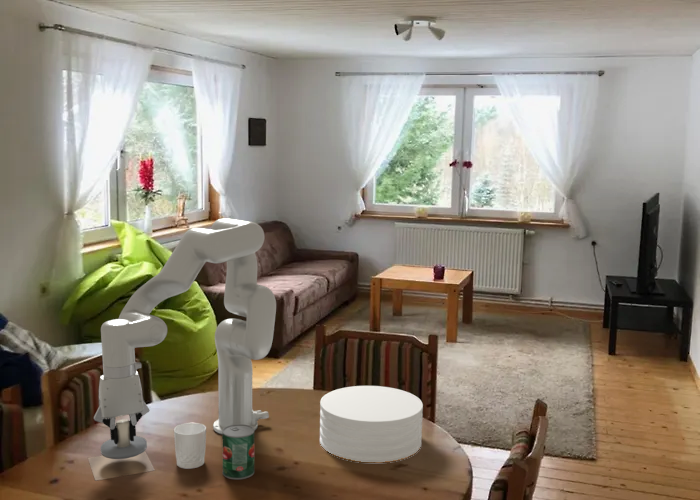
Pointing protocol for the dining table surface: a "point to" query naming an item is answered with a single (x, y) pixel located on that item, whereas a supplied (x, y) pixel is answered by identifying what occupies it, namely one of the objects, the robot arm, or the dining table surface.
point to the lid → (123, 443)
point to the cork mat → (119, 466)
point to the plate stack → (371, 423)
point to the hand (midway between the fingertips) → (123, 440)
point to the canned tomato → (238, 451)
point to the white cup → (190, 445)
